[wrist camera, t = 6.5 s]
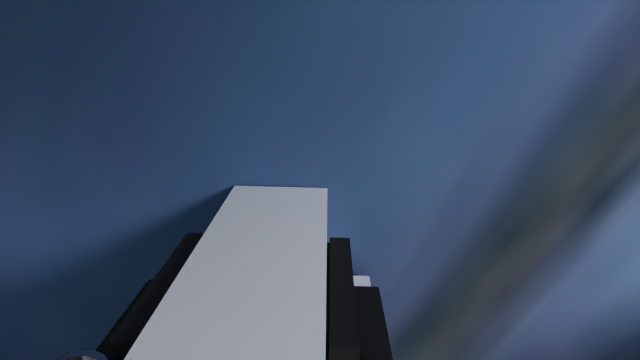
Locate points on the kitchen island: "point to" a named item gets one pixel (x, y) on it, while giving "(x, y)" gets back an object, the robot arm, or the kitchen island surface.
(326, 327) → the robot arm
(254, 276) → the white l-shaped block
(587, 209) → the kitchen island surface
